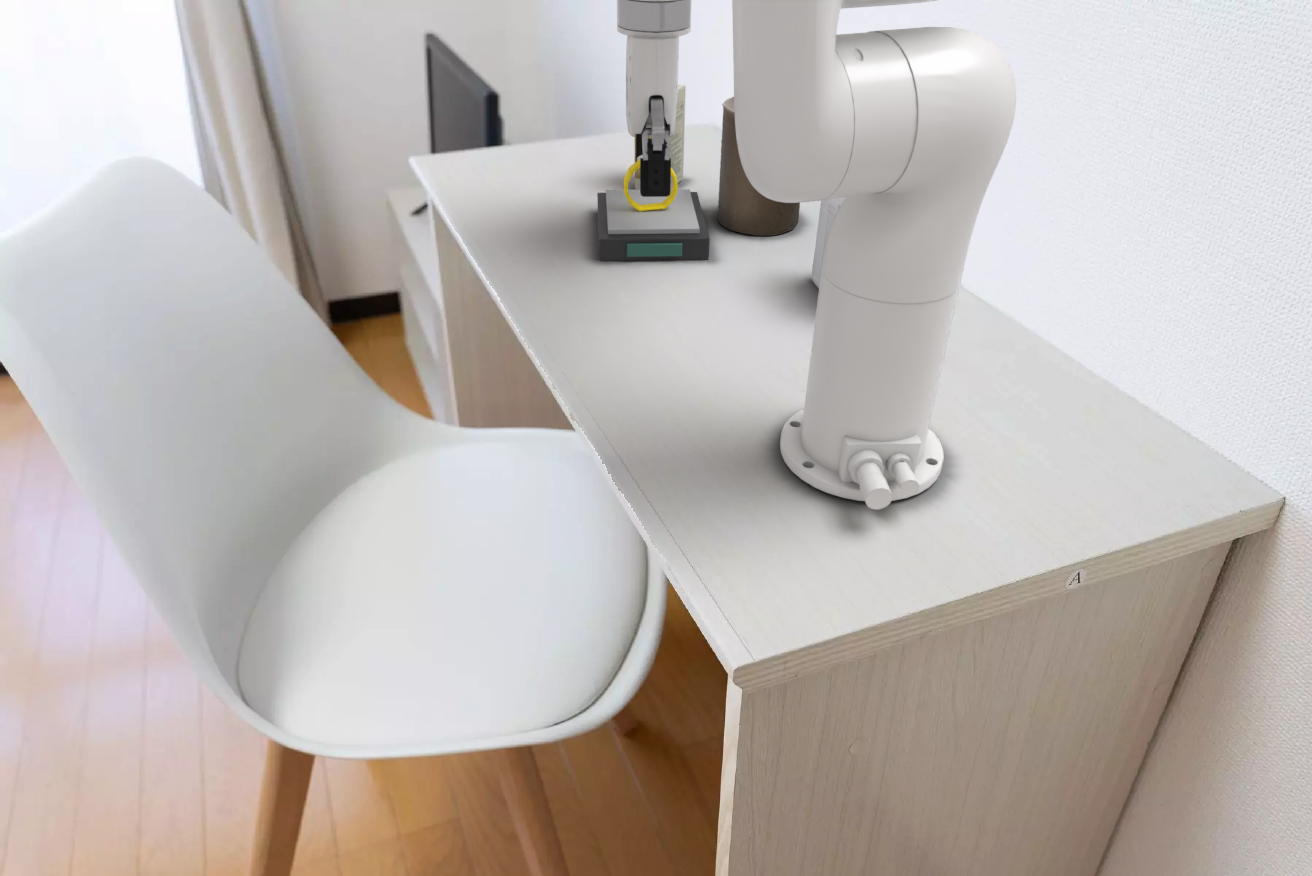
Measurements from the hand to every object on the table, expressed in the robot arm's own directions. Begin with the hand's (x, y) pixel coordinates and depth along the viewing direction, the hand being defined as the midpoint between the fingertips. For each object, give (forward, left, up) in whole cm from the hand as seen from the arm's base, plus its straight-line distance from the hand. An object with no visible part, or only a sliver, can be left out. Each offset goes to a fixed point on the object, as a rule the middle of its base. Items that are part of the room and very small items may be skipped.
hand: (652, 180), depth 107 cm
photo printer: (-17, -19, -7) cm, 26 cm away
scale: (0, 0, -7) cm, 7 cm away
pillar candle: (+4, -13, -7) cm, 15 cm away
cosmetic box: (+16, -2, -7) cm, 18 cm away
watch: (0, 0, -4) cm, 4 cm away
